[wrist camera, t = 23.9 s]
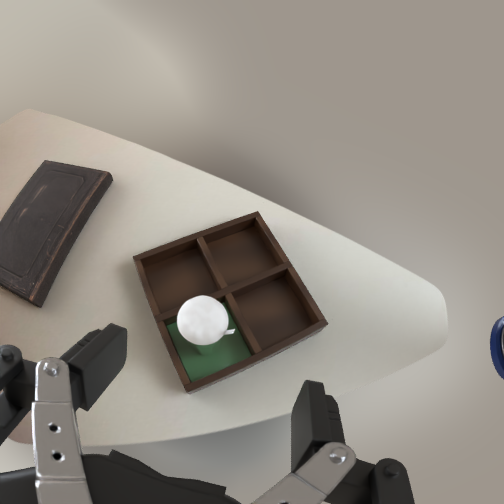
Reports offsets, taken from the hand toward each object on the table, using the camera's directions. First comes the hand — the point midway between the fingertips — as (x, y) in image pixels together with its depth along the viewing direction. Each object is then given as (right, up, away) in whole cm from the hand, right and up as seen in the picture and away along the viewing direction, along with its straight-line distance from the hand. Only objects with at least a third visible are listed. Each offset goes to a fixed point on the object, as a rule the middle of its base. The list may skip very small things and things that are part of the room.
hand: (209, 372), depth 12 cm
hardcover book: (-31, +9, +27) cm, 42 cm away
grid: (-1, -1, +25) cm, 25 cm away
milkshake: (-3, -5, +21) cm, 22 cm away
